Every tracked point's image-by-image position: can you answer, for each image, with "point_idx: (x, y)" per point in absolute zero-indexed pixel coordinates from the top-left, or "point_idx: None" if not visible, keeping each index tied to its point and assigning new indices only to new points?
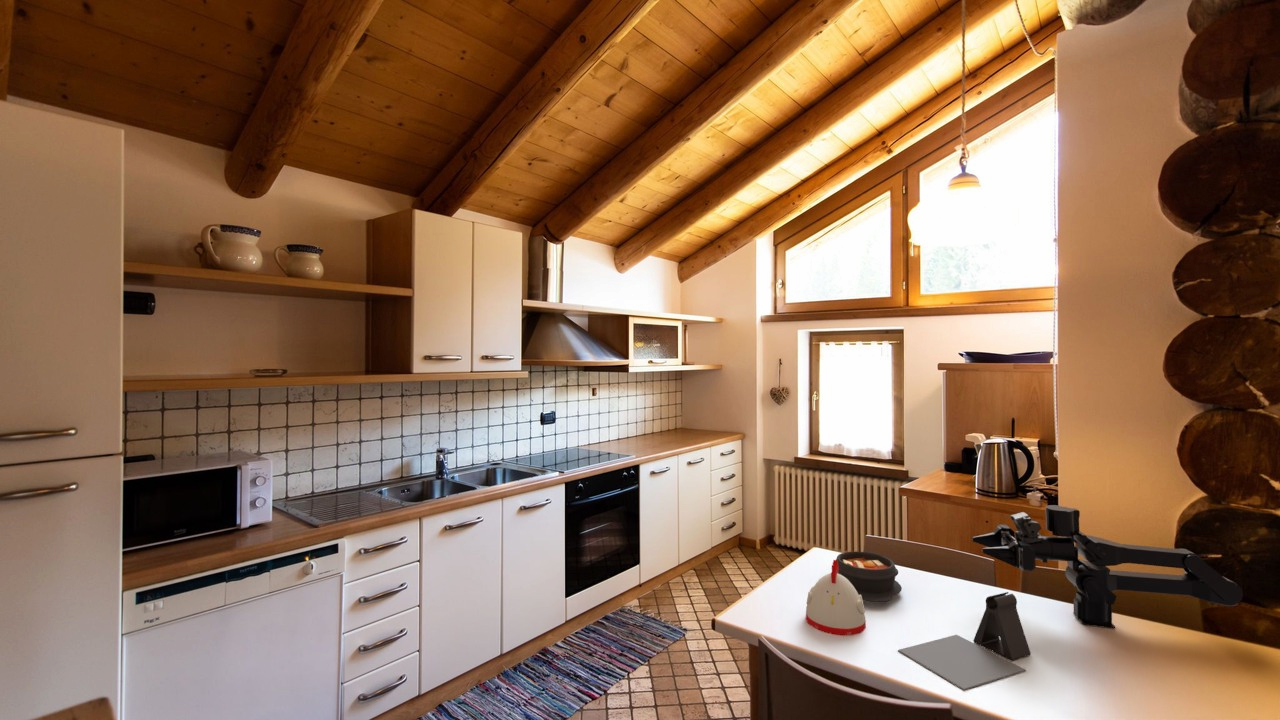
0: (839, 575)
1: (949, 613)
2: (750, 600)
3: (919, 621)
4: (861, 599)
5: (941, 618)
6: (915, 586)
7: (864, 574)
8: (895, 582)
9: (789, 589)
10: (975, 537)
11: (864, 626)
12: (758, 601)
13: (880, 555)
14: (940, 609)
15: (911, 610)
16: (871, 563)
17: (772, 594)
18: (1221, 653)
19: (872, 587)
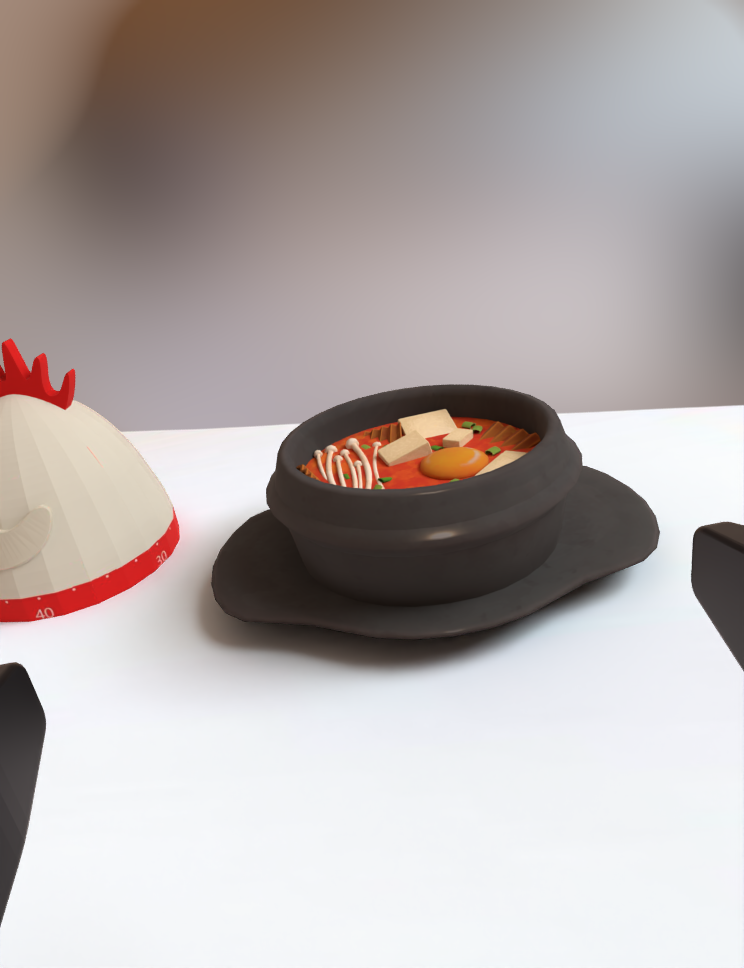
0: (2, 401)
1: (263, 919)
2: (199, 430)
3: (103, 770)
4: (21, 521)
5: (163, 872)
6: (653, 706)
7: (275, 471)
8: (507, 603)
9: None
10: (728, 545)
11: (8, 612)
12: (197, 438)
13: (538, 443)
14: (316, 860)
15: (245, 726)
16: (457, 460)
17: (257, 440)
18: None
19: (295, 542)
